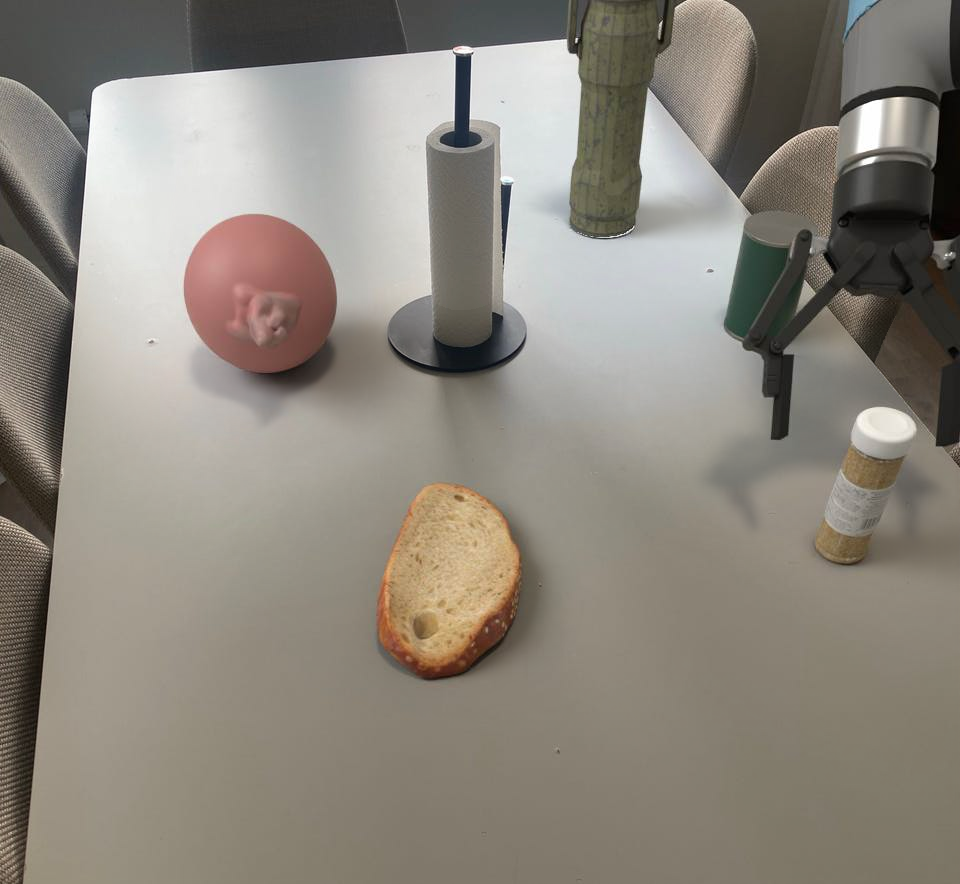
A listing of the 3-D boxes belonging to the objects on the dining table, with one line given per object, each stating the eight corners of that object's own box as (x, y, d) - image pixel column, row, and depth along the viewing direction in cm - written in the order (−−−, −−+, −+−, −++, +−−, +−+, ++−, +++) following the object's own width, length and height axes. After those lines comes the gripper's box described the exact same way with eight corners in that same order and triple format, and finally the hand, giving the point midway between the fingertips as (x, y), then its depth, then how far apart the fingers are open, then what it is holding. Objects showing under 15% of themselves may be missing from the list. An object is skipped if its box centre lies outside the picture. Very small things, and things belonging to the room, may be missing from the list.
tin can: (792, 314, 108) (818, 214, 100) (790, 349, 104) (817, 248, 95) (726, 306, 110) (746, 207, 101) (721, 340, 105) (741, 240, 96)
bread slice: (451, 484, 89) (450, 452, 86) (590, 584, 80) (594, 552, 78) (295, 576, 81) (288, 544, 79) (430, 698, 73) (428, 667, 70)
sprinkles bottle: (849, 526, 85) (898, 400, 75) (875, 561, 82) (930, 434, 72) (803, 535, 84) (846, 409, 74) (828, 570, 81) (876, 444, 71)
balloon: (196, 435, 94) (155, 292, 83) (206, 328, 107) (172, 192, 96) (350, 421, 96) (330, 279, 84) (342, 317, 109) (324, 182, 97)
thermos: (656, 235, 121) (701, -106, 95) (566, 243, 120) (587, -100, 93) (637, 204, 127) (676, -126, 100) (551, 211, 126) (567, -120, 99)
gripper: (1018, 198, 79) (995, 453, 81) (718, 190, 81) (702, 441, 82) (1068, 159, 72) (1042, 441, 73) (737, 151, 73) (719, 428, 75)
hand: (862, 441), depth 78 cm, fingers open, 13 cm apart
